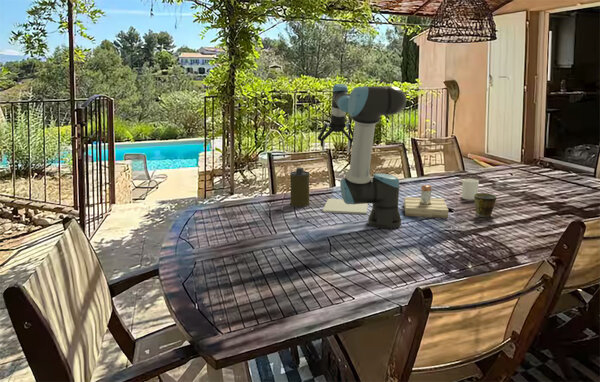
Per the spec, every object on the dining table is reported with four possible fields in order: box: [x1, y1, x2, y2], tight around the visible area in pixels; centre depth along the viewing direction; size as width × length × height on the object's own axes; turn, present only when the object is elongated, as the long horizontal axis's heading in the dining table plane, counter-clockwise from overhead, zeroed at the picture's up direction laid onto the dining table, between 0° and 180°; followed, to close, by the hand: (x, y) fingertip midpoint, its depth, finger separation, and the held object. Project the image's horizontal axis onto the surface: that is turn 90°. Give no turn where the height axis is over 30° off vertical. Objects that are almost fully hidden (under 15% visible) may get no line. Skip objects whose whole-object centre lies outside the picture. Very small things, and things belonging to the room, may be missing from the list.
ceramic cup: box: [474, 192, 497, 218], centre depth 216 cm, size 13×10×10 cm
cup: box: [461, 178, 479, 201], centre depth 249 cm, size 8×12×10 cm
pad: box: [322, 198, 369, 215], centre depth 233 cm, size 22×22×1 cm
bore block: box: [403, 196, 449, 219], centre depth 225 cm, size 20×20×4 cm
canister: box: [289, 167, 311, 208], centre depth 236 cm, size 11×10×20 cm
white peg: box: [420, 184, 432, 205], centre depth 224 cm, size 5×5×13 cm
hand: (335, 152), depth 240 cm, fingers open, 13 cm apart
